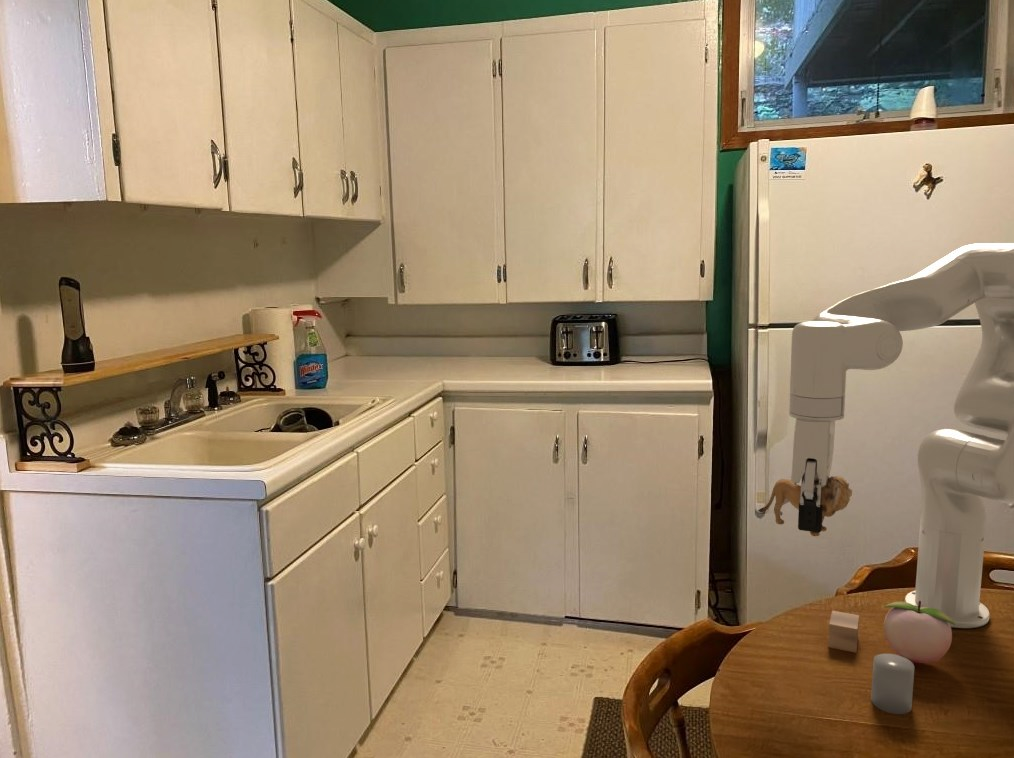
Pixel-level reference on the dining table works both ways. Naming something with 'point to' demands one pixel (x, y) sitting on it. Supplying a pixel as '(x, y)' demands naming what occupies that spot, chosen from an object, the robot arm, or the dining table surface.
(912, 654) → the decorative fruit
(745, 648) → the dining table surface
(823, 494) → the lion figurine
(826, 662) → the dining table surface
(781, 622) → the dining table surface
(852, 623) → the pale beige block
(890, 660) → the light grey cylinder
